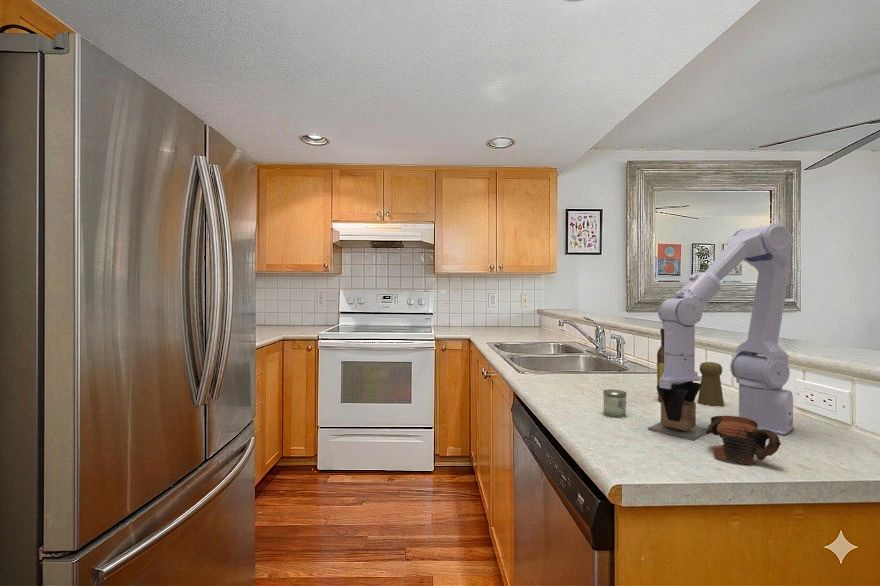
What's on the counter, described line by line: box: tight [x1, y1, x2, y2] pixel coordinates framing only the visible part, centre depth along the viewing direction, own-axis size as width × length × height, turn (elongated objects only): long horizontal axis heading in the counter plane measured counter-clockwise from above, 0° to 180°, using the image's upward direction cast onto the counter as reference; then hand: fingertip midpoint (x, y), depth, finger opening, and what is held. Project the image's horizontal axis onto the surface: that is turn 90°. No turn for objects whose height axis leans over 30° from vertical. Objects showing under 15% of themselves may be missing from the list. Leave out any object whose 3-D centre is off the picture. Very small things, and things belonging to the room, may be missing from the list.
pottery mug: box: [705, 415, 781, 466], centre depth 78 cm, size 12×10×8 cm
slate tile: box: [647, 421, 708, 441], centre depth 93 cm, size 9×9×1 cm
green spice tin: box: [602, 388, 627, 419], centre depth 106 cm, size 5×5×6 cm
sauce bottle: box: [656, 327, 664, 403], centre depth 119 cm, size 7×6×20 cm
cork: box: [697, 361, 725, 407], centre depth 117 cm, size 6×6×11 cm
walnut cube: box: [660, 401, 697, 431], centre depth 94 cm, size 5×5×5 cm
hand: (679, 417), depth 93 cm, fingers closed on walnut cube, 5 cm apart
